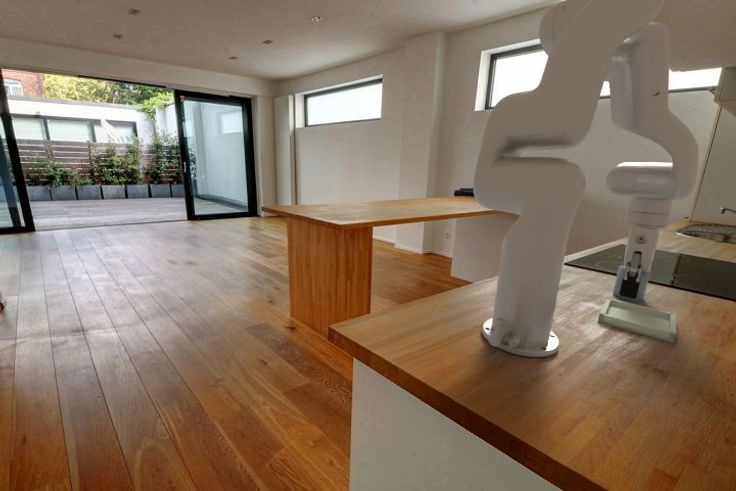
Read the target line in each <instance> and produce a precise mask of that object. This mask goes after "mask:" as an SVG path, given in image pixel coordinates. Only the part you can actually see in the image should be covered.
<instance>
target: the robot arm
mask: <svg viewBox="0 0 736 491" xmlns="http://www.w3.org/2000/svg"><path fill="white" fill-rule="evenodd" d="M665 1H666V0H559V1H557V2H556V3H553V4H552V5H551V6H550V7H548V9H547V10H546V11H545V12H544V14H543V16H542V17H541V20H540V24H539V29H538V37H539V41H540V45H541V47H542V50H543V52H545V54H546V55H547V60H546V64H545V67H544V69H543V73H542V76H541V79H540V81H539V84H538V85H537V86H536V87H535V88H534V89H531V90H523V91H517V92H513V93H510V94H508V95H506V96H505V97H502V98H501V99H500V100H499V101H498V102H497V103H496V104H495V105H494V107H493V108H492V110H491V112H490V114H489V116H488V119H487V121H486V124H485V128H484V132H483V137H482V140H481V145H480V149H479V154H478V158H477V162H476V165H475V171H474V174H473V183H472V192H473V195H474V198H475V200H476V202H477V203H478V204H479V205H480V206H482V207H483V208H485V209H489V210H493V211H496V212H504V213H509V214H515V215H519V216H518V219H517V220H516V221H515V222H514V224H512V226H510V228H509V229H508V230H507V232H506V233H505V236H504V237H503V241H502V245H501V252H500V253H501V254H500V262H499V269H498V275H497V276H498V277H497V283H496V290H495V291H496V293H495V299H494V305H493V306H494V307H493V313H492V314H493V315H492V317H491V318H489V319H487V320H485V321H484V322H483V324H482V329H481V332H482V335H483V337H484V338H485V339H486V340H487V342H488V343H489V344H490V346H493V347H495V348H498V349H500V350H503V351H505V352H507V353H511V354H512V355H513V354H514V355H517V356H522V357H527V358H543V357H549V356H551V355H554V354H555V353H557V352H558V350H559V348H560V347H559V346H560V340H559V338H558V336H557V335H556V334H555V333H554V332H553V331H552V325H553V320H554V315H555V309H556V303H557V301H558V300H557V299H558V293H559V289H560V288H559V287H560V282H561V277H562V271H563V266H564V260H565V254H566V249H567V244H568V240H569V235H570V231H571V228H572V226H573V225H572V224H573V222H574V218H575V216H576V214H577V211H578V208H579V206H580V203H581V201H582V199H583V196H584V192H585V188H586V175H585V173H584V171H583V169H582V168H581V166H580V165H579V164H577V163H576V162H575V161H572V160H570V159H567V158H563V157H553V156H521V155H522V152H523V151H557V150H558V151H559V150H566V149H567V150H568V149H572V148H575V147H578V146H579V145H580V144H582V143H583V142H584V140H585V139H586V138H587V136H588V134H589V132H590V129H591V126H592V122H593V120H594V117H595V113H596V110H597V107H598V103H599V101H600V100H599V99H600V97H601V93H602V90H603V87H604V83H605V82H607V83H609V97H610V98H609V100H610V101H609V102H610V117H611V118H610V120H611V123H612V124H613V125H614V126H616V127H617V128H618V129H622V130H624V131H626V132H628V133H629V132H630V133H631V134H634V135H637V136H639V137H643V138H644V139H647V140H649V141H652V142H653V143H655V144H656V145H658V146H660V147H662V148H663V149H664V150H665V152H667V154H668V156H669V157H670V160H671V162H651V161H650V162H642V161H641V162H639V161H638V162H637V161H636V162H635V161H634V162H633V161H631V162H622V163H619V164H617V165H615V166H613V167H612V168H611V169H610V170H609V171H608V173H607V175H606V178H605V187H606V189H607V191H608V192H609V193H610V194H611V195H613V196H615V197H620V198H626V199H629V202H628V203H629V204H628V208H627V211H626V216H625V221H624V224H625V225H627V226H630V227H629V231H628V232H629V233H628V237H627V241H626V246H625V253H624V259H623V265H624V267H627V268H626V273H625V277H624V279H623V280H622V285H621V289H620V293H619V294H620V295H621V296H625V297H629V298H634V299H635V298H636V297H637V293H638V289H639V285H640V282H639V279H640V275H641V272H642V268H643V269H644V270H646V272H648V271H650V272H651V269H652V268H651V267H652V264H653V260H654V258H655V252H656V248H657V244H658V241H659V236H660V230H663V229H664V230H665V229H667V227H668V223H669V218H670V215H671V210H672V207H673V204H674V202H680V201H682V200H684V199H686V198H688V197H689V196H690V195H691V194H692V192H693V191H694V189H695V187H696V184H697V177H698V168H699V144H698V142H697V140H696V137H695V136H694V134H693V133H692V131H691V129H690V128H689V127H688V126H687V125H686V124H685V123H684V121H682V119H680V118H679V117H678V116H677V115H675V114H674V113H673V112H672V111H671V110H670V107H669V96H670V95H669V94H670V93H669V81H670V80H669V79H670V44H671V43H670V32H669V29H668V27H667V26H666V25H665V24H663V23H662V22H661V23H660V22H656V21H654V22H652V21H653V20H654V19H655V18H656V16H658V14H659V13H660V11H661V10H662V8H663V6H664V4H665V3H666V2H665ZM629 266H631V267H629ZM638 267H640V269H638ZM629 270H630V271H629ZM637 272H638V273H637ZM636 278H637V279H636Z"/></svg>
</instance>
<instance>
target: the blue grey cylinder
mask: <svg viewBox="0 0 736 491" xmlns="http://www.w3.org/2000/svg"><path fill="white" fill-rule="evenodd" d="M629 267H631V266H629ZM626 268H627V267H624V264H622V265H619V266H618V270H617V273H616V277H615V282H614V286H613V290H612V294H613V296H615V298H619V299H622V300H624V301H625V300H626V301H630V302H636V303H637V302H644V300H645V295H646V293H647V292H646V291H647V287H648V284H649V281H650V280H649V279H650V275H651V270H650V271H648V272H646V270H644V269H643V267H642V272H641V275H640V279H639V282H640V285H639V289H638V293H637V297H636V298H635V299H634V298H629V297H625V296H621V295H620V294H619V293H620V289H621V285H622V280H623V279H624V277H625V273H626ZM638 269H640V267H638ZM629 271H630V270H629ZM637 273H638V272H637ZM636 279H637V278H636Z"/></svg>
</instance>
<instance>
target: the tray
mask: <svg viewBox="0 0 736 491" xmlns="http://www.w3.org/2000/svg"><path fill="white" fill-rule="evenodd" d="M676 315H677V314H676V313H674V312H670V311H666V310H662V309H657V308H653V307H649V306H645V305H640V304H636V303H633V302H628V301H625V300H624V301H623V300H619V299H614V298H611V297H606V300H605V301H604V304H603V306H602V308H601V309H600V313H599V316H598V319H597V323H601V324H604V325H607V326H610V327H614V328H618V329H621V330H625V331H627V332H633V333H636V334H639V335H643V336H646V337H649V338H653V339H657V340H660V341H664V342H667V343H671V344H675V342H676V337H677V319H676V318H677V317H676Z"/></svg>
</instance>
